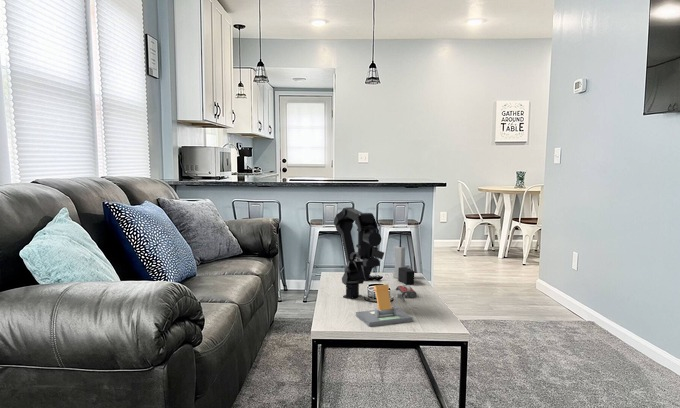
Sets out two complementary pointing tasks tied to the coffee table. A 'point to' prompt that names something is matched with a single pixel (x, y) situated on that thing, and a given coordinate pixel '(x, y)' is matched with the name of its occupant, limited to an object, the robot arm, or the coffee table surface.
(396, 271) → the vintage mobile phone
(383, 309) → the breaker lever
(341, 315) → the coffee table surface
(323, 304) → the coffee table surface
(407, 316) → the box
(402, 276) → the digital camera
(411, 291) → the walkie-talkie
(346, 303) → the coffee table surface
